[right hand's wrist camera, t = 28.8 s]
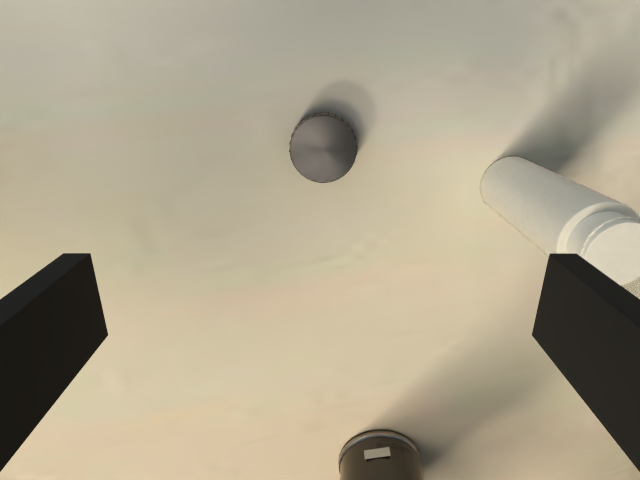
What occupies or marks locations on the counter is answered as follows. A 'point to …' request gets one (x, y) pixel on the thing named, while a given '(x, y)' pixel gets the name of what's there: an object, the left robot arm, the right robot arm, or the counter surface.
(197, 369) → the counter surface
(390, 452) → the left robot arm
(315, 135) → the lid
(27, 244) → the counter surface
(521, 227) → the jar
